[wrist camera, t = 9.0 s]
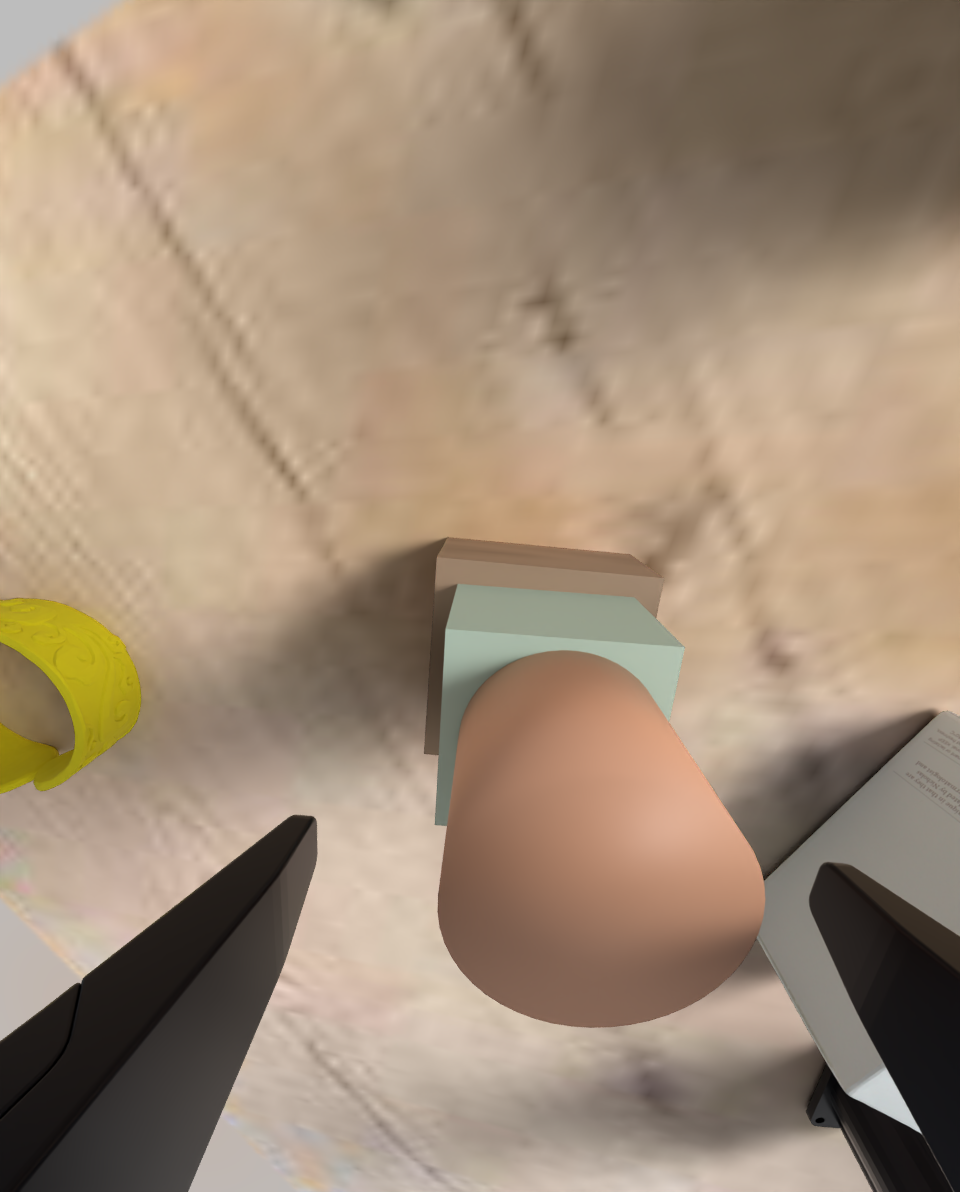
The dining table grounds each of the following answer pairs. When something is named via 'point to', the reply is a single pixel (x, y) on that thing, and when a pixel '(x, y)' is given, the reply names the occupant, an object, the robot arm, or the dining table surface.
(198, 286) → the dining table surface
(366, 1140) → the dining table surface
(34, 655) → the bracelet
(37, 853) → the dining table surface
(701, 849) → the brown oval piece
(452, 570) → the bottom block
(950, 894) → the supplement box
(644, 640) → the top block
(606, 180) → the dining table surface
